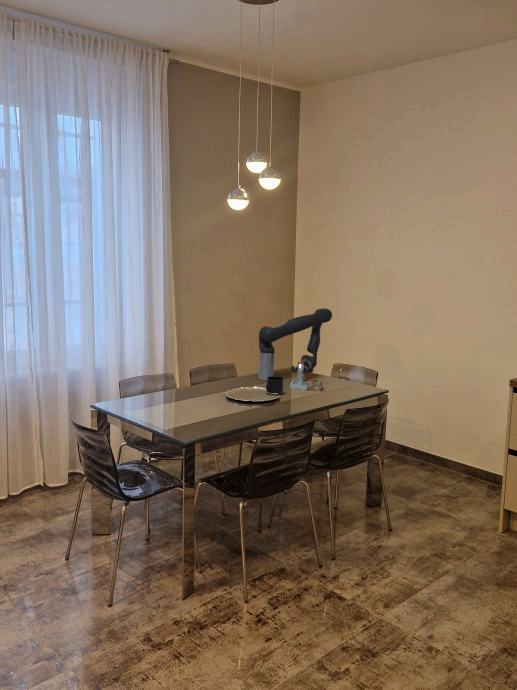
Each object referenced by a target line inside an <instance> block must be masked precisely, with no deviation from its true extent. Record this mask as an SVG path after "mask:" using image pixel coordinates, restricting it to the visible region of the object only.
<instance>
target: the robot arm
mask: <svg viewBox="0 0 517 690" xmlns="http://www.w3.org/2000/svg"><path fill="white" fill-rule="evenodd" d="M332 318H333V312H332V311H331V310H330V309H328V308H318V309H316V310H315V311H314V313H312V314H306V315H305V314H304V315H300V316H297V317H294V318H291V319H289V320H287V321H286V322H285V323H284V324H282V325H280V326H276V327H270V326H266V325H265V326H262V327H261V328H260V330H259V334H258V348H259V363H258V373H257V374H258V375H257V379H258V380H261V381H267V377H270V376H274V375H275V371H274V370H275V353H276V350H275V347H274V345H273V343H274V342H277V341H278V340H280V339H282V338H284V337H288V336H290V335H293V334H296V333H299V332H302V331H305V330H307V329H309V328H311V331H310V332H311V333H310V337H309V340H308V344H307V347H306V351H307V352H308V353H310V354H312V356H311V355H309V354H303V355H302V356H301V358H300V362H304V372H303V375H304V374H305V375H306V374H312V373H314V371H315V368H316V366H317V364H318V350H319V347H320V343H321V329H322V326H323V324H325V323H328V322H330V321H331V320H332ZM290 372H293V374H296V373H297V372H298V365H296V366H295V365H291V368H290Z"/></svg>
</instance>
